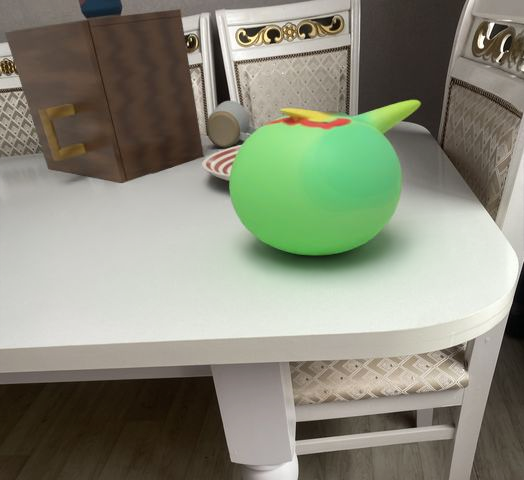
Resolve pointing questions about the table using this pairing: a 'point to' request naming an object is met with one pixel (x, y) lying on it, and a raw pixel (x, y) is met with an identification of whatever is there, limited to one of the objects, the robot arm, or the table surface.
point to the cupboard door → (67, 99)
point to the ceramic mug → (229, 124)
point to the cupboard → (147, 89)
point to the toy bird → (319, 179)
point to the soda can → (100, 8)
